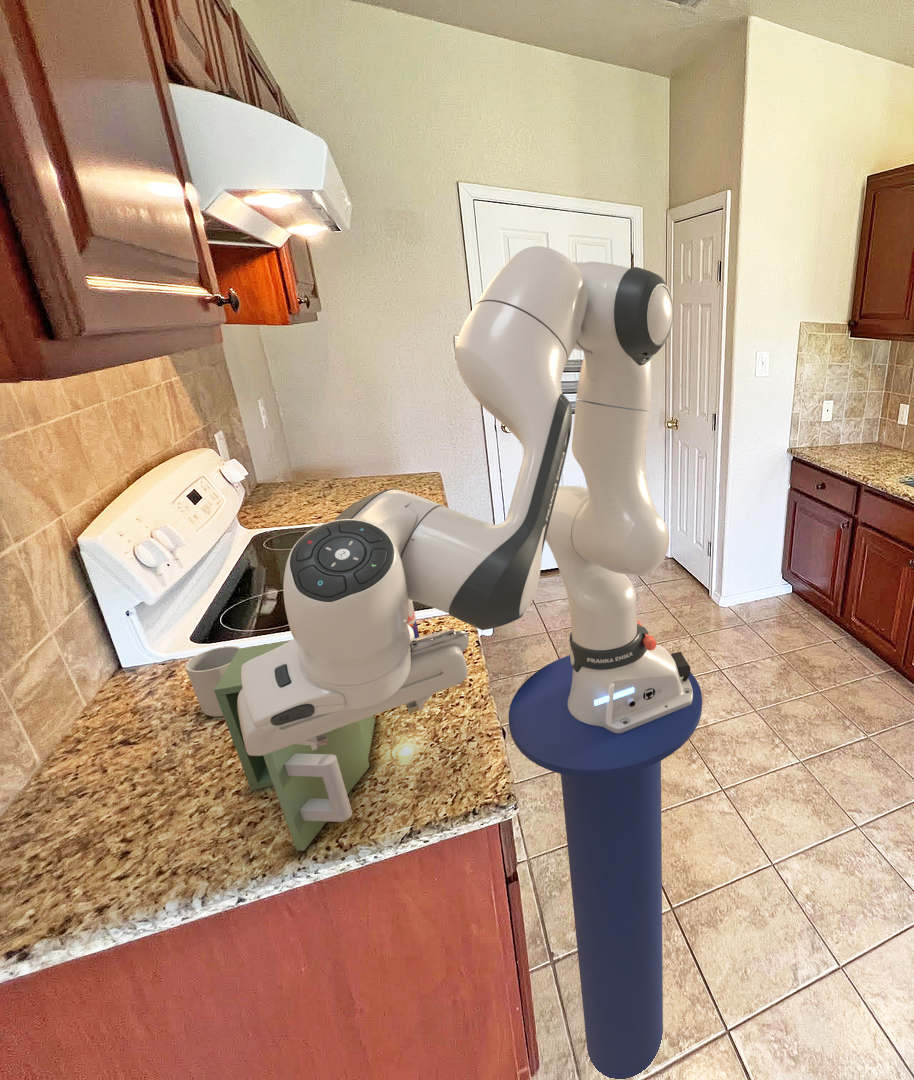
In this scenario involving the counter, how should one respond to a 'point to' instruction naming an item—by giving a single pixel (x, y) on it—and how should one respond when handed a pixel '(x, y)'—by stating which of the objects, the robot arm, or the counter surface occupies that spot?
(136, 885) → the counter surface
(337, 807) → the cabinet door
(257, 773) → the cabinet
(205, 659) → the cup
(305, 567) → the robot arm
